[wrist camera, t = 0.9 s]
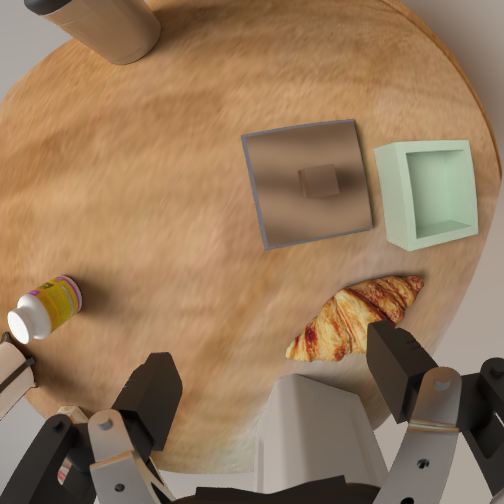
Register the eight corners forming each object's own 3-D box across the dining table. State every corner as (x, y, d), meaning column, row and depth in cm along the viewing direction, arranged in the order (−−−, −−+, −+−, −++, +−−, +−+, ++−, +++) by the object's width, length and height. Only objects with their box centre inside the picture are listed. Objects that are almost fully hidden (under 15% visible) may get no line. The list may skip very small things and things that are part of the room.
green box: (373, 148, 30) (394, 142, 24) (442, 144, 29) (468, 140, 23) (387, 240, 33) (408, 251, 27) (452, 226, 32) (478, 233, 26)
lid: (245, 138, 30) (242, 128, 24) (350, 123, 29) (367, 111, 23) (268, 245, 33) (269, 258, 27) (369, 225, 32) (389, 234, 26)
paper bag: (344, 352, 37) (411, 520, 10) (363, 409, 40) (408, 538, 13) (228, 393, 39) (203, 556, 12) (265, 441, 42) (263, 571, 15)
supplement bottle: (71, 268, 35) (16, 298, 23) (90, 306, 37) (41, 346, 24) (49, 281, 36) (-2, 311, 24) (66, 316, 38) (20, 353, 25)
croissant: (293, 349, 41) (309, 393, 35) (263, 323, 35) (279, 376, 29) (409, 281, 37) (437, 318, 31) (404, 238, 31) (441, 280, 25)
